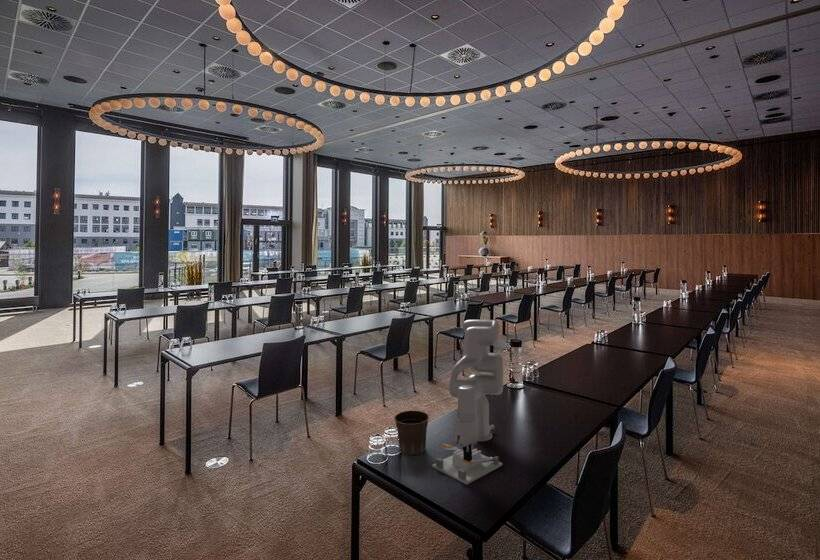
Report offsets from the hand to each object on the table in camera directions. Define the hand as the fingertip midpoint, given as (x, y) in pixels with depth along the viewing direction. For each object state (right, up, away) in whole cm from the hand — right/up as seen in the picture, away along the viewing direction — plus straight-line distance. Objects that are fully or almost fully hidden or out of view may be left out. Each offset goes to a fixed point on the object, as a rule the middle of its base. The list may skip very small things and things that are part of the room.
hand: (467, 459), depth 184 cm
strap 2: (+6, -3, +5) cm, 8 cm away
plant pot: (-23, -6, +27) cm, 36 cm away
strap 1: (-3, -2, +15) cm, 16 cm away
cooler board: (+1, -7, +10) cm, 12 cm away
